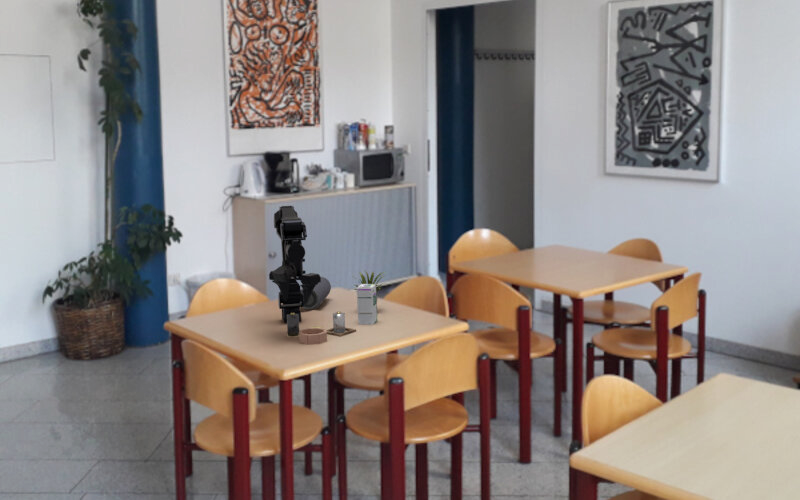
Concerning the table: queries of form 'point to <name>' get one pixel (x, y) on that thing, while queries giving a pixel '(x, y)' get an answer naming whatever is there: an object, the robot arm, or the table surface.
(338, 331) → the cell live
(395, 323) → the table surface
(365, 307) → the syrup box
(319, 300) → the bluetooth speaker
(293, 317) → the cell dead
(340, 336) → the brown wooden tray
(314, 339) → the pot
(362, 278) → the house plant
